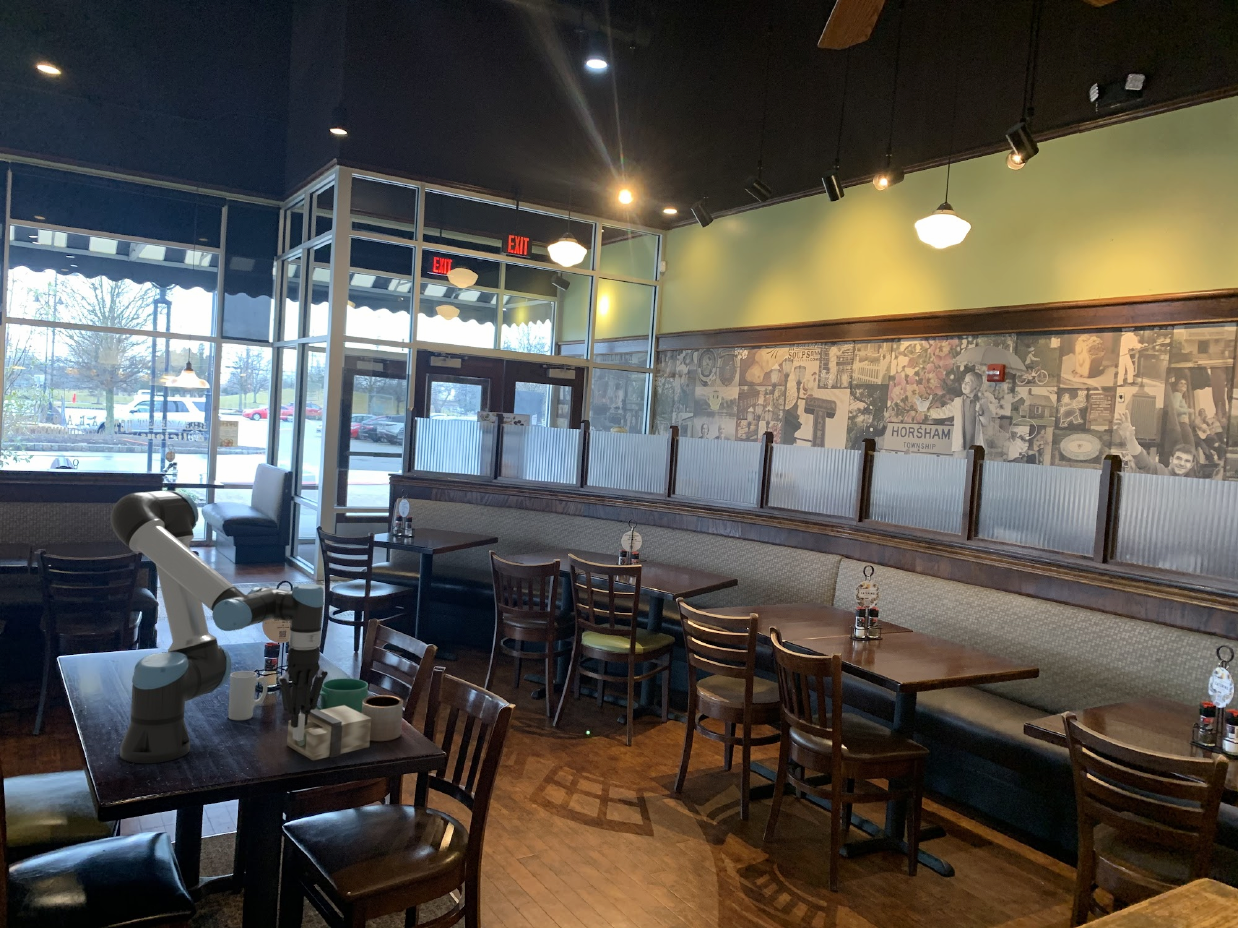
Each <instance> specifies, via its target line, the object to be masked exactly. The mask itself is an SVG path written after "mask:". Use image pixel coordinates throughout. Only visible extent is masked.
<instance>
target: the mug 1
mask: <svg viewBox="0 0 1238 928" xmlns="http://www.w3.org/2000/svg"><path fill="white" fill-rule="evenodd" d="M258 683H260V684H261V685H262V687H263V688H262V689H263V690H262V693H261V696H259V698H258V699H255V697H256V696H255V695H256V685H257V684H258ZM267 693H268V684H267V681H266V679H265V676H264V675H261V676H259V677H257V672H255V671H251V670H239V671H234V672H231V673H230V676H229V693H228V694H229V696H228V715H227V716H228V718H229V719H230V720H233V721H246V720H250V719H251V718H253V717H254V716H253V714H254V708H255V707H256V706H261V705H262V704H263V702H264V700H265V698H266V696H267Z"/></svg>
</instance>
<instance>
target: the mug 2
mask: <svg viewBox="0 0 1238 928" xmlns="http://www.w3.org/2000/svg"><path fill="white" fill-rule="evenodd" d="M368 691H369V684H368V682H366V681H364V680H362V679H357V678H349V677H347V678H344V677H343V678H333V679H328V680H326V681H323V685H322V688H321V692H320V695H319V697H320V706H318V705H317V706H316V709H318V710H323V709H328V708H333V707H338V706H343V705H345V706H347V707H349V708H351V709H353V710H355V711H357V712H359V713H362V703H363V700H364V699H365V698H367V697H368V695H369V693H368Z"/></svg>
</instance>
